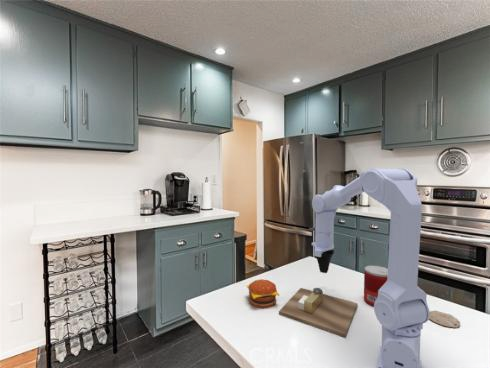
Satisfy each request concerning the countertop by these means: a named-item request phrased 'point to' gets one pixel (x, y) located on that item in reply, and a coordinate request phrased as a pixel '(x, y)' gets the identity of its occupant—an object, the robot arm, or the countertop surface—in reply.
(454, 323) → the flatbread
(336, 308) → the plate
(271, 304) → the hamburger
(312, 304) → the bar
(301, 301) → the white rectangular block
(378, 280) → the canned food
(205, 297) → the countertop surface
